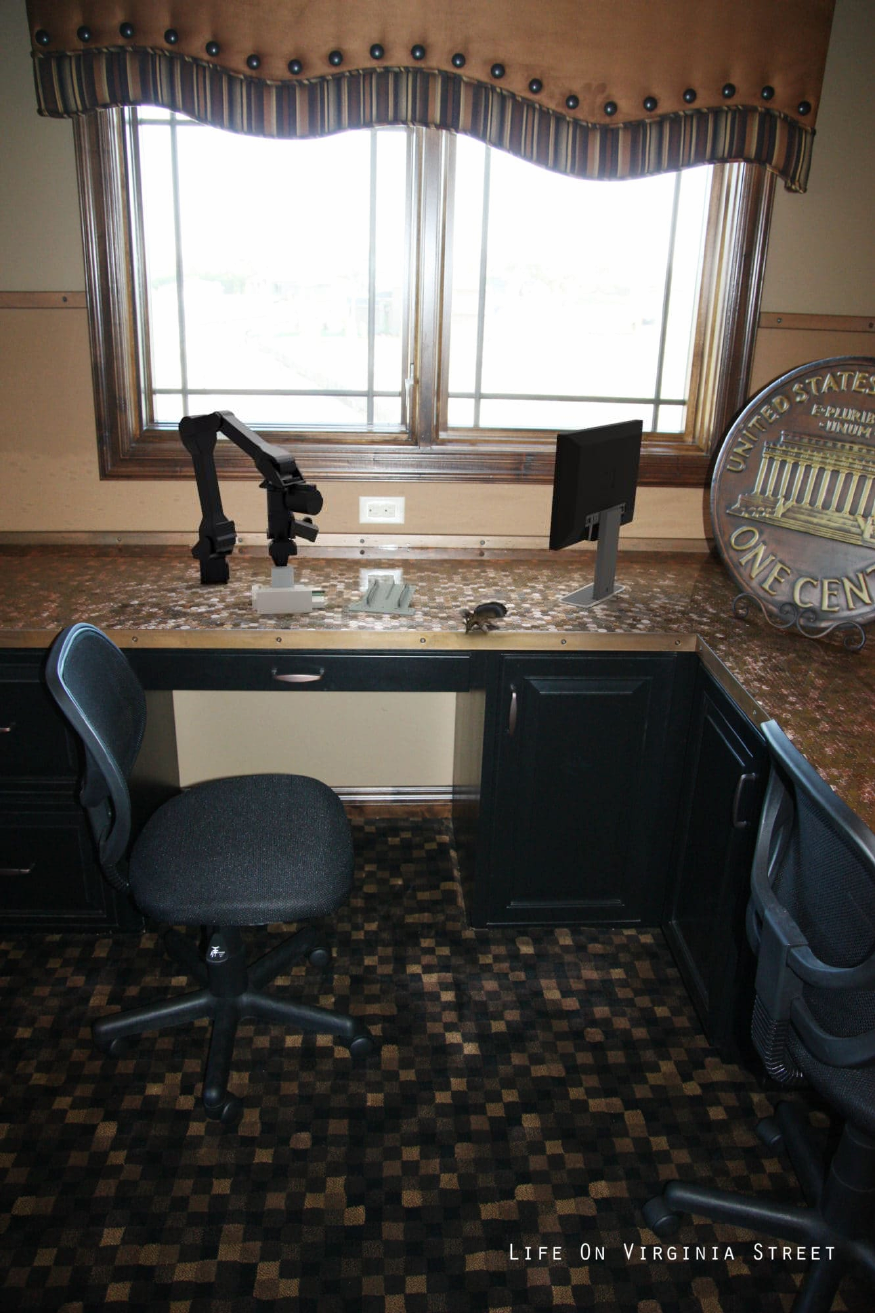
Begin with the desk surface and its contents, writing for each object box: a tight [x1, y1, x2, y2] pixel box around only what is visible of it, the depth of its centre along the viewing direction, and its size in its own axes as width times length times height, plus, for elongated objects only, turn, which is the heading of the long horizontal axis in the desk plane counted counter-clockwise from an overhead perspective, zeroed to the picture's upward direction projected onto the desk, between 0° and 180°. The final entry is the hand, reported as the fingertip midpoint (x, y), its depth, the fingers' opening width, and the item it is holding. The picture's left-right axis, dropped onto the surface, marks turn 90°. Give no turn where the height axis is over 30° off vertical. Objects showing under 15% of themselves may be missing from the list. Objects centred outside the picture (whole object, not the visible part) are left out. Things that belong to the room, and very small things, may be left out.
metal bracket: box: [348, 578, 417, 617], centre depth 210 cm, size 14×6×15 cm
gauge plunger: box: [260, 565, 326, 594], centre depth 209 cm, size 14×4×8 cm, turn 101°
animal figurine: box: [458, 601, 509, 635], centre depth 194 cm, size 8×7×9 cm
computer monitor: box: [548, 418, 644, 609], centre depth 215 cm, size 41×8×40 cm, turn 145°
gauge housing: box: [251, 584, 326, 615], centre depth 208 cm, size 16×14×5 cm
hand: (282, 576), depth 211 cm, fingers closed
